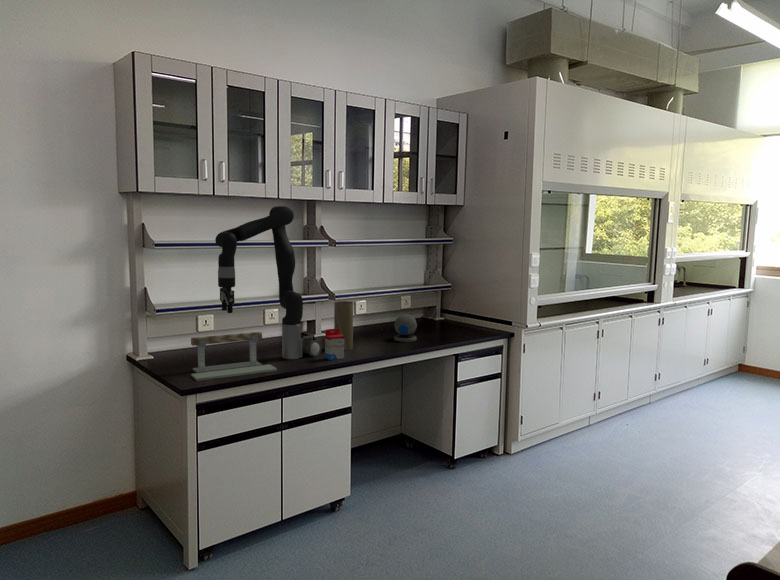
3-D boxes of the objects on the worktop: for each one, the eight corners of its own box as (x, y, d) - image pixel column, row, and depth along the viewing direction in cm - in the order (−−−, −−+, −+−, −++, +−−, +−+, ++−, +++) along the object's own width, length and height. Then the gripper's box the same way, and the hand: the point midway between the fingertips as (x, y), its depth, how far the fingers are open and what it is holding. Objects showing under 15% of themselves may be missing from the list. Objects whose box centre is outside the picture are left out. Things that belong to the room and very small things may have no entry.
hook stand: (256, 362, 282) (256, 331, 280) (262, 366, 276) (261, 334, 274) (192, 370, 266) (191, 337, 265) (197, 374, 260) (196, 340, 258)
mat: (269, 366, 275) (269, 364, 275) (276, 370, 268) (276, 368, 268) (191, 376, 256) (191, 373, 256) (196, 381, 249) (196, 378, 249)
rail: (259, 337, 279) (259, 331, 279) (262, 339, 277) (262, 332, 276) (191, 344, 262) (190, 337, 262) (192, 345, 260) (192, 339, 259)
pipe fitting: (323, 354, 300) (320, 334, 299) (311, 358, 294) (308, 338, 293) (307, 353, 308) (304, 334, 307) (295, 357, 302) (293, 337, 301)
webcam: (418, 338, 348) (418, 313, 347) (413, 342, 336) (414, 316, 334) (397, 336, 351) (397, 312, 350) (391, 340, 339) (392, 315, 337)
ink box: (329, 360, 289) (329, 331, 287) (324, 358, 293) (324, 329, 291) (344, 358, 294) (344, 329, 292) (339, 356, 298) (339, 328, 296)
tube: (344, 345, 325) (344, 300, 322) (356, 348, 318) (356, 302, 315) (330, 348, 317) (330, 302, 314) (342, 351, 310) (343, 304, 308)
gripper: (239, 277, 262) (240, 313, 264) (230, 274, 274) (230, 309, 276) (223, 278, 258) (223, 314, 260) (213, 275, 270) (214, 310, 272)
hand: (227, 311), depth 268 cm, fingers open, 8 cm apart
